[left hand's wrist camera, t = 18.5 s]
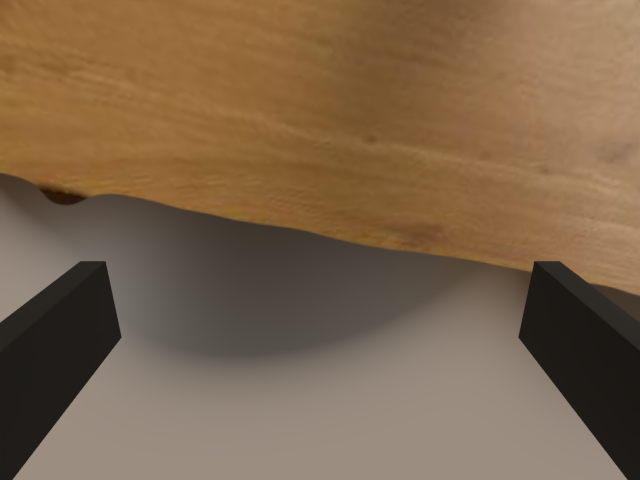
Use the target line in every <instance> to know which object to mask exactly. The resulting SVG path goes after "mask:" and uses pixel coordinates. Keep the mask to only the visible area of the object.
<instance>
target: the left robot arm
mask: <svg viewBox="0 0 640 480" xmlns="http://www.w3.org/2000/svg"><path fill="white" fill-rule="evenodd" d="M120 339H121V333H120V328H119V323H118V318H117V314H116V309H115V304H114V299H113V295H112V290H111V285H110V280H109V276H108V271H107V266H106V262H105V261H80V262H79V263H78V264H76V265H75V266H74V267H72V268H71V269H70V270H68V271H67V272H66V273H65V274H63V275H62V276H61V277H59V278H58V279H57V280H55V281H54V282H53V283H51V284H50V285H49V286H48V287H46V288H45V289H44V290H42V291H41V292H40V293H38V294H37V295H36V296H34V297H33V298H32V299H31V300H29V301H28V302H27V303H25V304H24V305H23V306H21V307H20V308H19V309H17V310H16V311H15V312H14V313H12V314H11V315H10V316H8V317H7V318H6V319H4V320H3V321H2V322H0V480H13V478H14V477H15V476H16V474H17V473H18V472H19V470H20V469H21V468H22V467H23V465H24V464H25V463H26V461H27V460H28V459H29V457H30V456H31V455H32V453H33V452H34V451H35V450H36V448H37V447H38V446H39V444H40V443H41V442H42V440H43V439H44V438H45V437H46V435H47V434H48V433H49V431H50V430H51V429H52V427H53V426H54V425H55V423H56V422H57V421H58V420H59V418H60V417H61V416H62V414H63V413H64V412H65V410H66V409H67V408H68V407H69V405H70V404H71V403H72V401H73V400H74V399H75V397H76V396H77V395H78V393H79V392H80V391H81V390H82V388H83V387H84V386H85V384H86V383H87V382H88V380H89V379H90V378H91V376H92V375H93V374H94V373H95V371H96V370H97V369H98V367H99V366H100V365H101V363H102V362H103V361H104V359H105V358H106V357H107V356H108V354H109V353H110V352H111V350H112V349H113V348H114V346H115V345H116V344H117V343H118V341H119V340H120ZM519 339H520V340H521V341H522V343H523V344H524V345H525V346H526V348H527V349H528V350H529V352H530V353H531V354H532V356H533V357H534V358H535V360H536V361H537V362H538V363H539V365H540V366H541V367H542V369H543V370H544V371H545V373H546V374H547V375H548V376H549V378H550V379H551V380H552V382H553V383H554V384H555V386H556V387H557V388H558V389H559V391H560V392H561V393H562V395H563V396H564V397H565V399H566V400H567V401H568V403H569V404H570V405H571V407H572V408H573V409H574V410H575V412H576V413H577V414H578V416H579V417H580V418H581V419H582V421H583V422H584V423H585V425H586V426H587V427H588V429H589V430H590V431H591V433H592V434H593V435H594V436H595V438H596V439H597V440H598V442H599V443H600V444H601V446H602V447H603V448H604V450H605V451H606V452H607V453H608V455H609V456H610V457H611V459H612V460H613V461H614V463H615V464H616V465H617V466H618V468H619V469H620V470H621V472H622V473H623V474H624V476H625V477H626V478H627V480H640V322H638V321H637V320H636V319H634V318H633V317H632V316H630V315H629V314H628V313H626V312H625V311H624V310H623V309H621V308H620V307H619V306H617V305H616V304H615V303H613V302H612V301H611V300H609V299H608V298H607V297H605V296H604V295H603V294H602V293H600V292H599V291H598V290H596V289H595V288H594V287H592V286H591V285H590V284H589V283H587V282H586V281H585V280H583V279H582V278H581V277H579V276H578V275H577V274H575V273H574V272H573V271H572V270H570V269H569V268H568V267H566V266H565V265H564V264H562V263H561V262H560V261H534V266H533V271H532V276H531V280H530V285H529V290H528V295H527V299H526V304H525V309H524V314H523V318H522V323H521V328H520V333H519Z"/></svg>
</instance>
